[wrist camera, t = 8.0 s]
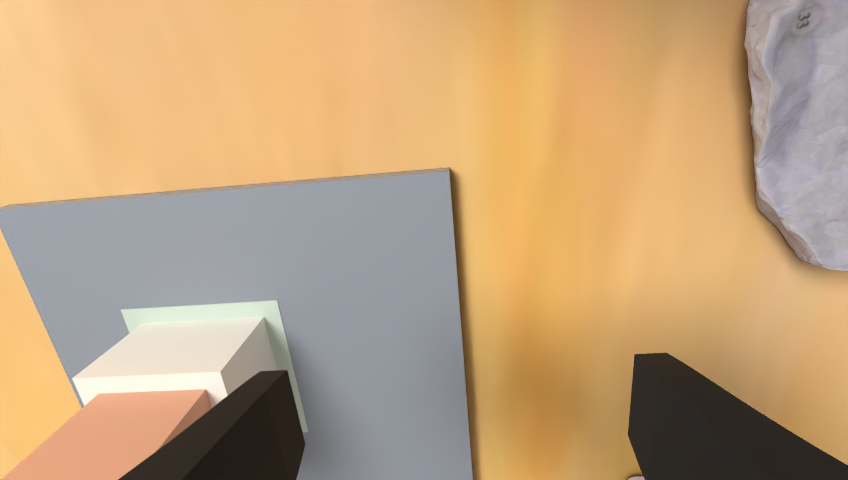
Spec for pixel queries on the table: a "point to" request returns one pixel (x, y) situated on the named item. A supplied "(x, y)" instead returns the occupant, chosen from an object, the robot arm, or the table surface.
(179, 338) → the cream base block
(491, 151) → the table surface
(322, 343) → the board
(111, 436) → the orange cube
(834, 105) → the stone block
